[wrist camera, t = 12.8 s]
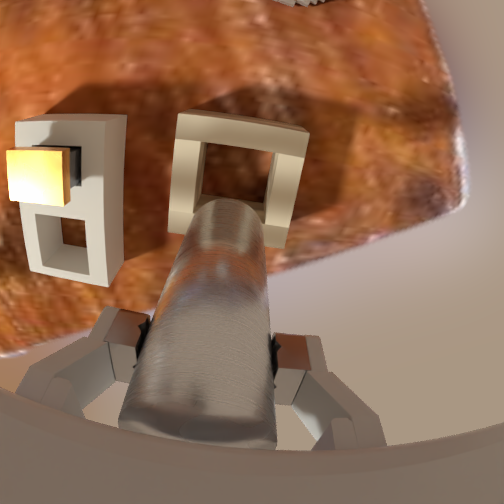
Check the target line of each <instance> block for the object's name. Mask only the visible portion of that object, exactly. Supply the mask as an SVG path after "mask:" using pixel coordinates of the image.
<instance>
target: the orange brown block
mask: <svg viewBox="0 0 504 504" xmlns="http://www.w3.org/2000/svg"><path fill="white" fill-rule="evenodd" d="M81 150H82V146H62V145H41V146H38V147H13V148H10V149H8V150H6V152H7V170H8V183H9V193H10V200H14V201H22V202H31V203H40V204H48V205H57V206H65V205H66V204H67V203H69V202H70V201H71V195H70V189H71V188H72V187H74V186H75V185H77V184H78V183H80V182H81V181H82V180H81Z"/></svg>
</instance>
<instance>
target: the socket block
mask: <svg viewBox="0 0 504 504" xmlns="http://www.w3.org/2000/svg"><path fill="white" fill-rule="evenodd" d="M126 125H127V115H119V114H43V115H39V116H35V117H31V118H27V119H24V120H20V121H17V122H15V147H38V146H41V145H62V146H82V150H81V180H82V181H81V182H80V183H78V184H77V185H75V186H74V187H72V188H71V189H70V195H71V201H70V202H69V203H67V204H66V205H65V206H57V205H48V204H40V203H31V202H22V201H19V204H20V213H21V220H22V227H23V234H24V240H25V246H26V251H27V257H28V262H29V267H30V271H33V272H38V273H42V274H47V275H51V276H56V277H60V278H65V279H70V280H75V281H80V282H85V283H89V284H95V285H100V286H105V287H109V285H110V284H111V282H112V280H113V279H114V277H115V276H116V274H117V272H118V271H119V269H120V268H121V266H122V264H123V263H124V243H123V183H124V156H125V139H126ZM61 217H65V218H72V219H79V220H85V229H86V242H87V248H85V247H79V246H73V245H67V244H63V236H62V227H61Z"/></svg>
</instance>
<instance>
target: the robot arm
mask: <svg viewBox="0 0 504 504" xmlns="http://www.w3.org/2000/svg"><path fill="white" fill-rule="evenodd" d="M150 323H151V321H150V315H148V314H144V313H139V312H135V311H130V310H125V309H119V308H115V307H110V306H106V307H105V308H104V309H103V311H102V313H101V314H100V316H99V318H98V320H97V322H96V323H95V325H94V327H93V329H92V331H91V333H90V335H89V337H88V338H87V337H82V338H81V339H79V340H77V341H75V342H73V343H72V344H70V345H68V346H66V347H64V348H62V349H61V350H59V351H57V352H55V353H53V354H51V355H50V356H48V357H46V358H44V359H42V360H40V361H39V362H37V363H35V364H33V365H31V366H30V367H29V369H28V371H27V373H26V374H25V376H24V378H23V379H22V381H21V383H20V385H19V387H18V388H17V390H16V392H15V393H13V392H10V391H8V390H6V389H3V388H1V387H0V504H504V422H503V423H500V424H496V425H493V426H489V427H486V428H482V429H478V430H474V431H470V432H466V433H462V434H458V435H452V436H448V437H443V438H438V439H432V440H426V441H420V442H414V443H407V444H399V445H392V446H387V444H386V440H385V437H384V433H383V430H382V426H381V423H380V419H379V416H378V415H377V414H376V413H375V412H374V411H373V410H372V409H371V408H370V407H368V406H367V405H366V404H365V403H364V402H363V401H362V400H361V399H360V398H359V397H358V396H357V395H356V394H355V393H354V392H352V390H350V389H349V388H348V387H347V386H346V385H345V384H344V383H343V382H342V381H341V380H340V379H339V378H338V377H337V376H336V375H335V374H334V373H333V372H328V369H327V365H326V361H325V356H324V352H323V348H322V344H321V339H320V337H319V336H312V335H296V334H285V333H274V334H273V336H272V339H271V347H272V362H273V378H274V395H275V404H279V405H292V406H291V407H292V408H293V410H294V411H295V413H296V414H297V415H298V417H299V418H300V419H301V421H302V422H303V423H304V425H305V426H306V428H307V429H308V430H309V432H310V433H311V434H312V436H313V437H314V438H315V440H316V441H317V443H316V444H315V445H314V447H313V448H312V450H311V451H291V450H263V449H247V448H235V447H224V446H215V445H207V444H199V443H192V442H186V441H179V440H173V439H168V438H162V437H157V436H152V435H147V434H142V433H138V432H133V431H129V430H125V429H121V428H117V427H113V426H108V425H105V424H101V423H98V422H94V421H91V420H87V419H86V418H85V416H84V414H83V411H82V409H83V408H85V407H86V406H87V405H88V404H89V403H90V402H92V401H93V400H94V399H95V398H97V397H98V396H99V395H100V394H102V393H103V392H104V391H105V390H106V389H107V388H109V387H110V386H111V385H112V384H113V383H115V381H120V382H125V383H130V380H131V377H132V374H133V372H134V369H135V366H136V363H137V360H138V357H139V354H140V351H141V348H142V345H143V343H144V340H145V337H146V334H147V331H148V329H149V326H150Z"/></svg>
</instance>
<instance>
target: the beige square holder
mask: <svg viewBox="0 0 504 504" xmlns="http://www.w3.org/2000/svg"><path fill="white" fill-rule="evenodd" d="M309 136H310V133H309V132H308V131H306V130H305V129H304V128H303V127H301V126H299V125H294V124H289V123H284V122H278V121H273V120H267V119H261V118H255V117H249V116H242V115H236V114H228V113H221V112H213V111H204V110H195V109H189V110H186V111H183V112H181V113H178V119H177V127H176V136H175V145H174V155H173V165H172V177H171V189H170V202H169V218H168V232H172V233H178V234H186V232H187V229H188V227H189V225H190V222H191V220H192V218H193V216H194V214H195V213H196V212H197V211H198V209H199V208H201V207H202V206H203V205H205V204H206V203H208V202H210V201H213V200H216V199H233V198H227V197H220V196H213V195H206V194H201V192H202V184H203V175H204V167H205V159H206V152H207V144H208V143H216V144H223V145H230V146H237V147H244V148H250V149H256V150H262V151H268V152H273V155H272V160H271V165H270V170H269V176H268V181H267V186H266V191H265V197H264V202H263V203H259V202H253V201H247V200H240V199H234V200H238V201H241V202H243V203H245V204H247V205H248V206H250V207H251V208H252V209H253V210H254V211H255V212H256V213H257V215H258V216H259V218H260V220H261V222H262V226H263V232H264V246H267V247H274V248H281V249H284V246H285V242H286V238H287V234H288V229H289V225H290V221H291V216H292V212H293V208H294V203H295V199H296V195H297V190H298V186H299V181H300V177H301V172H302V168H303V163H304V159H305V154H306V150H307V145H308V140H309Z"/></svg>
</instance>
